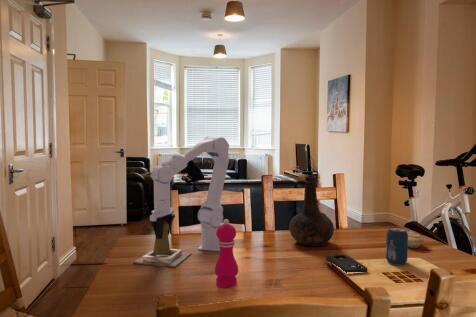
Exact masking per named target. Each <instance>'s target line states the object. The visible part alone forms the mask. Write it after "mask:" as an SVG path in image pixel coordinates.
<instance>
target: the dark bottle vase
mask: <svg viewBox="0 0 476 317" xmlns="http://www.w3.org/2000/svg"><path fill="white" fill-rule="evenodd" d="M302 182H303V183H304V195H303V196H304V198H303V199H304V200H303V206H302V210H301V212H300V213H298V214H296V215H294V216H293V217H292V218H291V220H290V221H289V226H288V227H289V228H288V229H289V230H288V231H289V233H290V236H291V237H292V238H293V239H294V240H295V242H297V243H298V244H300V245H303V246H307V247H319V246H323V245H325V244H327V243H328V242H330V240H331V239H332V237H333V235H334V231H335V227H334V223H333V222H332V220H331V219H330V217H328V216H327V215H326V214H325V213H323V212H321V211H320V208H319V204H318V196H317V182H318V180H317V176H315V175H305V176H304V179H303V181H302Z"/></svg>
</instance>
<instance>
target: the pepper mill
mask: <svg viewBox="0 0 476 317" xmlns="http://www.w3.org/2000/svg"><path fill="white" fill-rule="evenodd" d="M222 223H223V224H222ZM222 223H221V224H220V226H219V227H218V228H217V231H216V235H217V237H218V239H219V240H218V245H219V246H220V251H219V255H218V258H217V260H216V262H215V265H214V274H215V275H216V276H217V277H216V278H215V283H216V286H217V287H219V288H222V289H231V288H234V287H236V286H237V283H238V282H237V281H238V280H237V279H238V278H237V276H238V273H239V266H238V263H237V261H236V258H235V256H234V246H235V240H234V239H235V238H236V237H237V229H236V228H235V226H234V225H233V224H230V220H229V219H227V218H225V219H223V221H222Z"/></svg>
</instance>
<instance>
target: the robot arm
mask: <svg viewBox="0 0 476 317" xmlns="http://www.w3.org/2000/svg"><path fill="white" fill-rule="evenodd" d="M229 150H230V144H229V142H228V141H227V139H226V138H225V137H222V136H220V137H219V136H218V137H215V136H214V137H213V136H206V137H205V138H203V139H200V140H199V142H198V143H196V144H195V145H194V146H192V147H191V148H190V149H188V150H187V151H185V152H184V153H183V154H179V153H178V154H173V155H171V158H170V159H168V160H166V161H163V162H161V165H156V166H155V167H153V168H152V170H151V173H150V178H151V179H152V181H153V205H154V206H153V208H154V209H153V210H151V214H150V215H149V223H150V225H151V226H152V229H153V232H154V235H155V236H154V237H156V239H162V237H163V228H164V224H165V222H167V223H168V224H169V230H168V236H169V235H170V233H171V228H172V224H173V222H174V219H175V218H176V215H175V214H174V212H175V211H174V210H175V207H173V206H172V207H171V182H172V181H173V178H174V176H175V175H177V174H178V173H179V172H181V171H182V170H184V169H186V168H187V166H188V163H189V162H190V161H193V160H194V159H195V158H197V157H199V156H200V155H202V154H203V153H206V154H207V155H209V156H210V157H211V158H212V160H213V161H214V165H213V168H212V174H211V176H210V177H211V178H210V183H209V187H208V190H207V195H206V196H207V197H206V199H205V201H204V202H203V203H201V206H200V209H199V210H198V212H197V219H198V221H199V222H200V230H201V232H200V233H201V234H200V236H201V237H200V240H201V242H200V243H201V244H200V246H199V247H197V250H201V251H212V252H220V246H219V245H218V240H219V239H218V237H217V235H216V231H217V228H218V227H219V226H220V225H222V223H223V221H224V214H223V213H224V207H223V206H222V204H221V199H222V194H223V190H224V186H225V181H226V176H227V171H228V166H229V162H230V156H229Z"/></svg>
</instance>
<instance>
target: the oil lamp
mask: <svg viewBox="0 0 476 317" xmlns="http://www.w3.org/2000/svg"><path fill="white" fill-rule="evenodd" d="M406 232H407V234H408V248H409V249H417V248H419V247H420V246H422V245H424V242H425V240H424V238H423V236H421V235H420V234H418V233H416V232H415V231H411V230H406Z"/></svg>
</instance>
